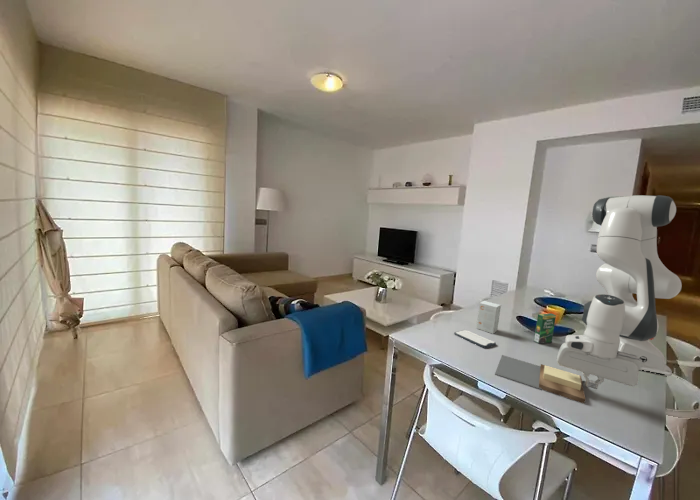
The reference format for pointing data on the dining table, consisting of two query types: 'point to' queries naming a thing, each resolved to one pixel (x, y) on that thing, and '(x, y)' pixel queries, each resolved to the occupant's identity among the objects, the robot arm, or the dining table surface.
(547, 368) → the tile
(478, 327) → the small box
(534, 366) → the mat
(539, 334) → the coffee box
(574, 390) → the brown flat block
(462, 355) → the dining table surface
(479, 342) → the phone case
